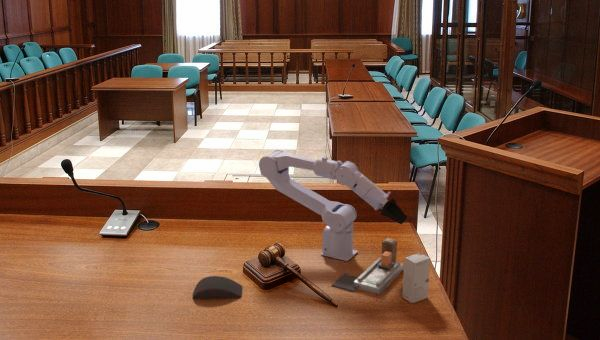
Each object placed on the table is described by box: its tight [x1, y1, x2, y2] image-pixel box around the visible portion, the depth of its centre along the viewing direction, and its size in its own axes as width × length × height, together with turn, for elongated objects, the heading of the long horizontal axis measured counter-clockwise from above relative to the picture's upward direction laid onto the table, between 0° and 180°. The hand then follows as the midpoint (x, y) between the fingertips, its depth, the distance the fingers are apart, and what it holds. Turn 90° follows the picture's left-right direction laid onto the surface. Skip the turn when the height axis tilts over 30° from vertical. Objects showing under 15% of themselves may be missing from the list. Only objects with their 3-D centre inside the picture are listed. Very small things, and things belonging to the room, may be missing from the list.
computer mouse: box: [192, 275, 243, 300], centre depth 172 cm, size 8×14×4 cm, turn 93°
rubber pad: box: [331, 273, 359, 293], centre depth 178 cm, size 7×8×1 cm
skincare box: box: [402, 252, 431, 304], centre depth 168 cm, size 6×4×12 cm
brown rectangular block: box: [381, 237, 398, 262], centre depth 190 cm, size 4×4×7 cm
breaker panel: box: [354, 257, 404, 296], centre depth 180 cm, size 8×18×3 cm, turn 149°
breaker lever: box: [377, 251, 396, 269], centre depth 183 cm, size 4×4×4 cm
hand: (404, 221), depth 183 cm, fingers open, 7 cm apart
